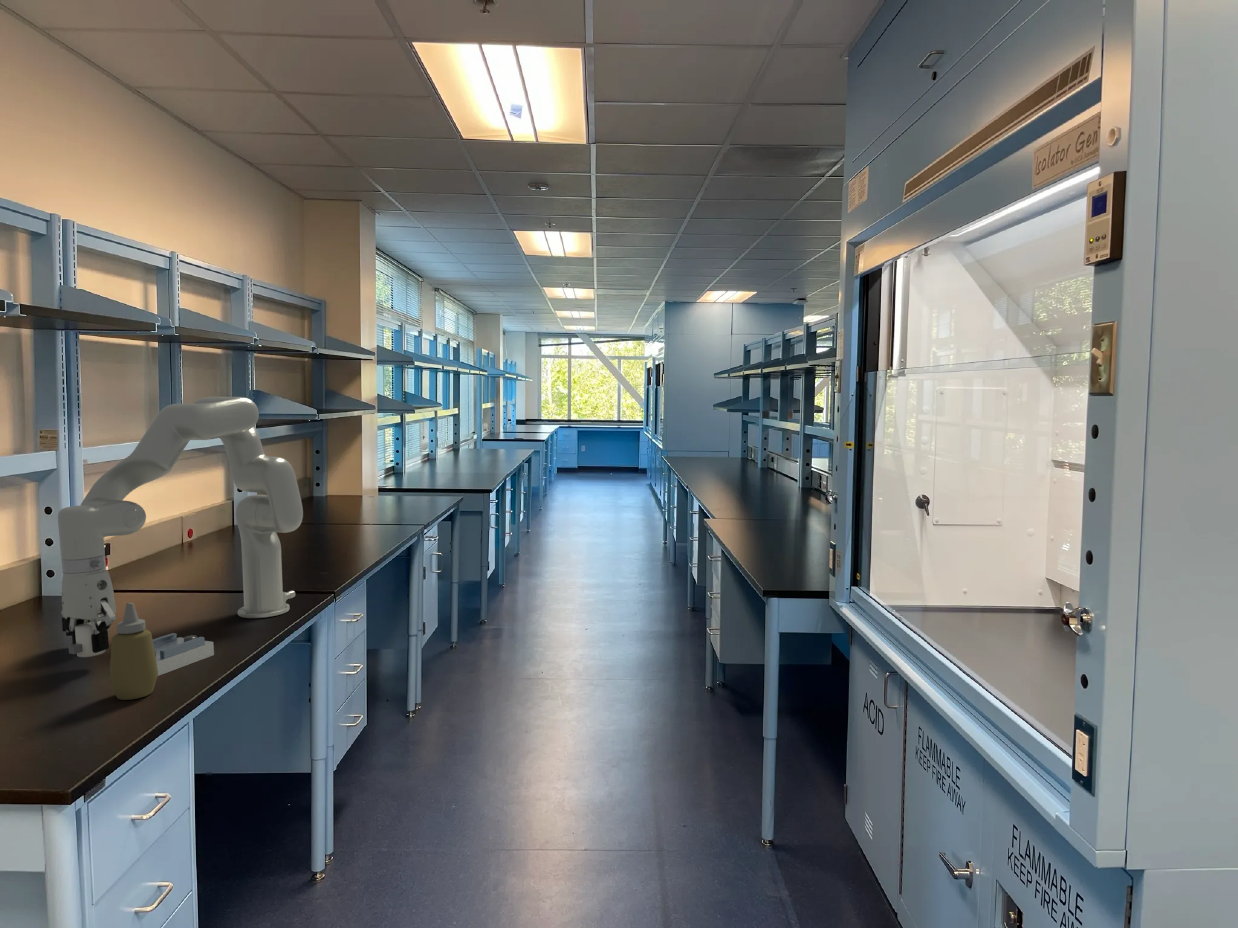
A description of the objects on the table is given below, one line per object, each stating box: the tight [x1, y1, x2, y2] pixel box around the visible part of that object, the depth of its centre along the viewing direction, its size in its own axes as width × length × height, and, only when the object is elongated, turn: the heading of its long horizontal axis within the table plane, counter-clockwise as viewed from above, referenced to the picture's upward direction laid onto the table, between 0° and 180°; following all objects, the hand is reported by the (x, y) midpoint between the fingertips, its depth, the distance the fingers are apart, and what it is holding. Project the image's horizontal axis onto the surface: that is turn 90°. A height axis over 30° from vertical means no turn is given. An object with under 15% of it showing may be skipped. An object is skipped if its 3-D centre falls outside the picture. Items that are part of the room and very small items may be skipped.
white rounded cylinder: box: [67, 622, 107, 658], centre depth 162 cm, size 7×5×6 cm
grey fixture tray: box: [152, 632, 215, 677], centre depth 167 cm, size 14×10×5 cm
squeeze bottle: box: [108, 602, 159, 701], centre depth 148 cm, size 8×8×18 cm
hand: (91, 648), depth 163 cm, fingers closed on white rounded cylinder, 5 cm apart
